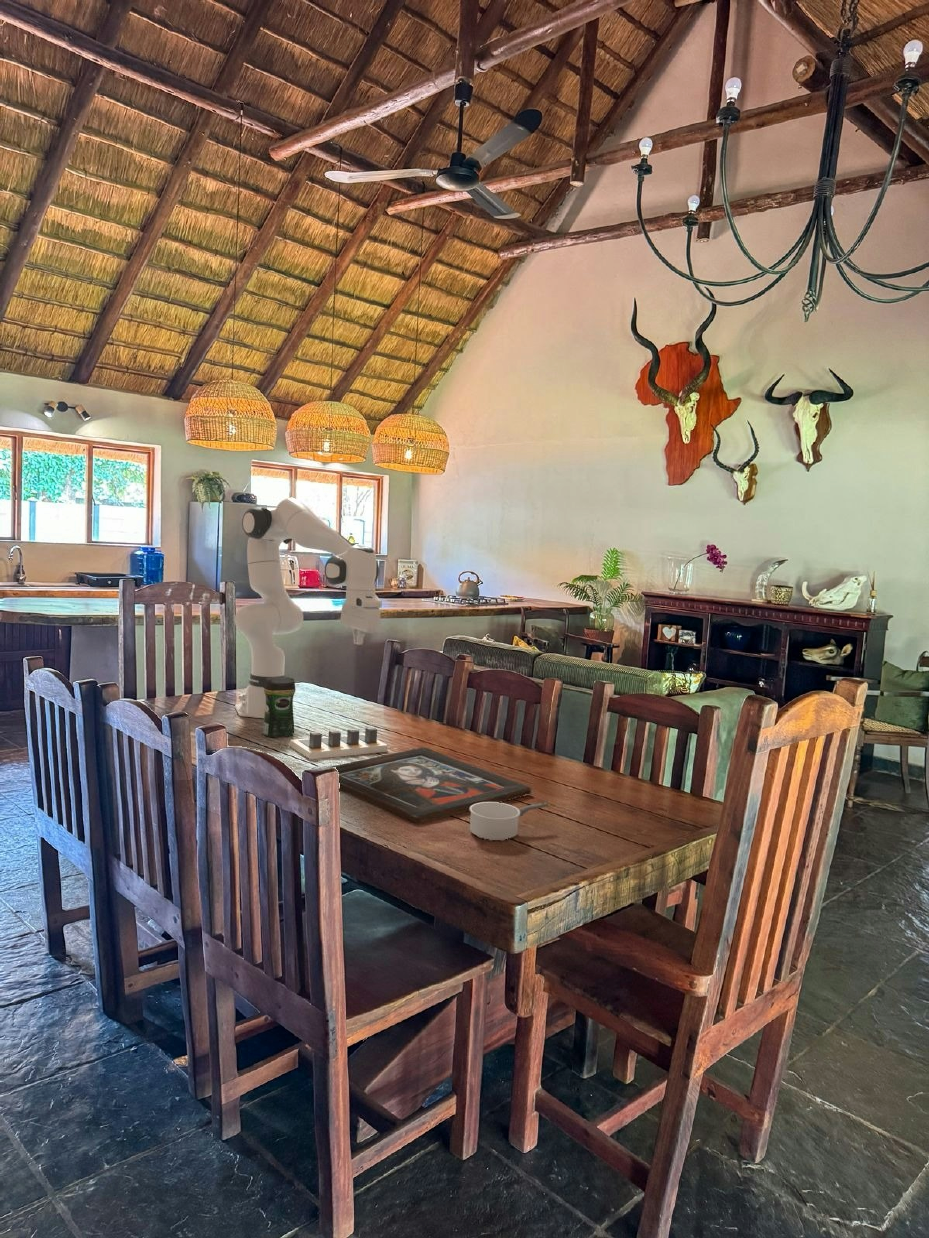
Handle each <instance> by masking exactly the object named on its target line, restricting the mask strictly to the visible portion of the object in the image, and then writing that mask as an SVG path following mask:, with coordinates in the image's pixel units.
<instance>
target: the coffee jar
mask: <svg viewBox="0 0 929 1238" xmlns="http://www.w3.org/2000/svg"><path fill="white" fill-rule="evenodd" d="M264 692H265V695H266V707H265V715H264V718H263V722H262V734H263V735H264V736H265V737H270V738H284V737H291V736H293V735H294V734H295V720H294V717H295V716H294V707H293V706H294V695H295V693H296V683H295V679H294V677H291V676H285V677H269V678H266V679H265V685H264Z"/></svg>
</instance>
